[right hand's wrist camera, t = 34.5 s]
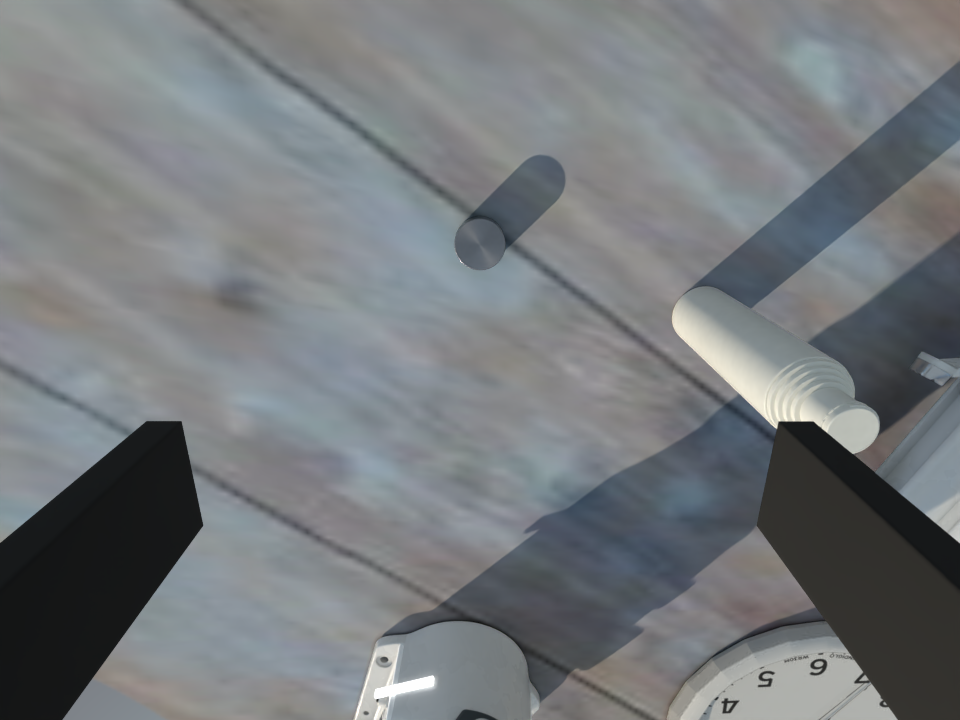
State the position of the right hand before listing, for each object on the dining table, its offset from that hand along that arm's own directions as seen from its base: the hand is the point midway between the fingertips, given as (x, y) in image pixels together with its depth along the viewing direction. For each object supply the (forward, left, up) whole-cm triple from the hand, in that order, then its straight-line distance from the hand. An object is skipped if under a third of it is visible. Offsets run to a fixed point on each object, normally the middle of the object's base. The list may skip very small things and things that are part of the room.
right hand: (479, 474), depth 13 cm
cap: (0, 0, -32) cm, 32 cm away
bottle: (+3, +19, -33) cm, 38 cm away
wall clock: (+47, +43, -33) cm, 72 cm away
